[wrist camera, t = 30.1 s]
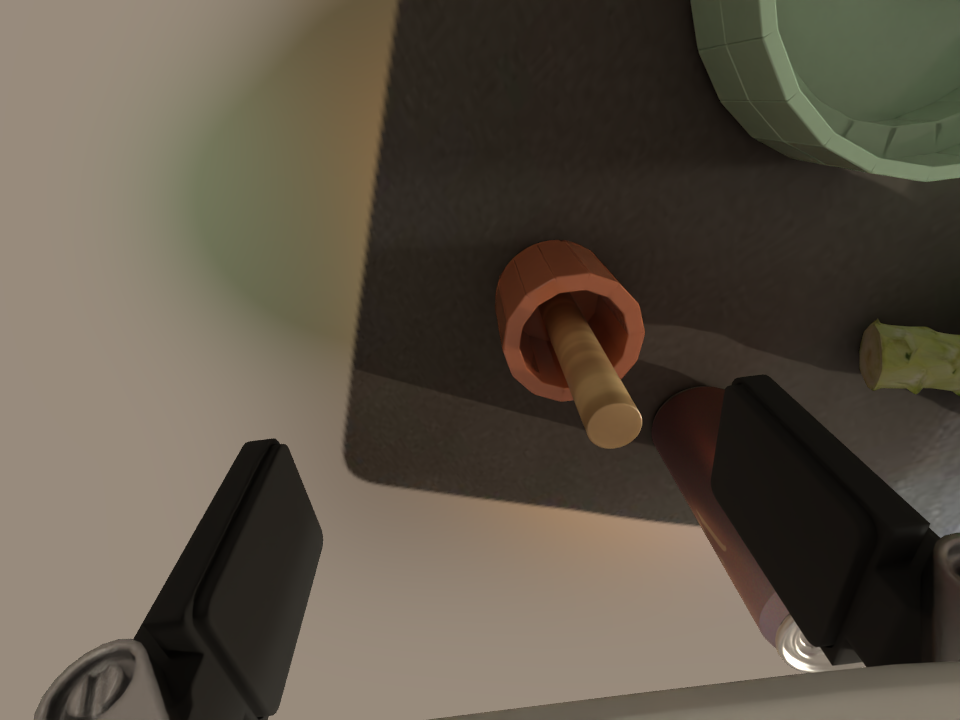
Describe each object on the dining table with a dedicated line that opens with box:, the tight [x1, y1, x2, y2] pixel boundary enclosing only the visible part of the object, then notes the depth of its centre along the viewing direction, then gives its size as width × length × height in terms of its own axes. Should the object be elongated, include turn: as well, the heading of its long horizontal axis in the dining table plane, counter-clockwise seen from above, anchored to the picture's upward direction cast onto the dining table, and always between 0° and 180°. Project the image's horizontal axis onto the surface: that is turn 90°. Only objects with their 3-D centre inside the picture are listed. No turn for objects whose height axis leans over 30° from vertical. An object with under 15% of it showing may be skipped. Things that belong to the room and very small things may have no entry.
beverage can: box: [652, 386, 865, 673], centre depth 26 cm, size 6×6×15 cm
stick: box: [538, 292, 642, 449], centre depth 23 cm, size 2×2×12 cm
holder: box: [495, 240, 645, 402], centre depth 26 cm, size 7×7×6 cm
